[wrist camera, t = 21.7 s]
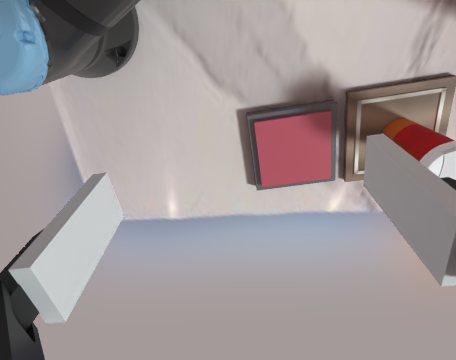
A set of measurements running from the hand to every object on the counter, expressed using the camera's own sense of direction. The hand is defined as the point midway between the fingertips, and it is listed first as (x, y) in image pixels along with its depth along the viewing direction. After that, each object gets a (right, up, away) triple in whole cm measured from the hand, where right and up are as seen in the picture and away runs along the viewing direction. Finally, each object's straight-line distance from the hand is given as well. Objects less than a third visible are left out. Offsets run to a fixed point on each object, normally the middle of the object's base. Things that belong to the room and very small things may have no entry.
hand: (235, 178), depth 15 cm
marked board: (+27, +8, +35) cm, 45 cm away
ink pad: (+11, +6, +36) cm, 38 cm away
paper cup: (+28, +8, +34) cm, 45 cm away
